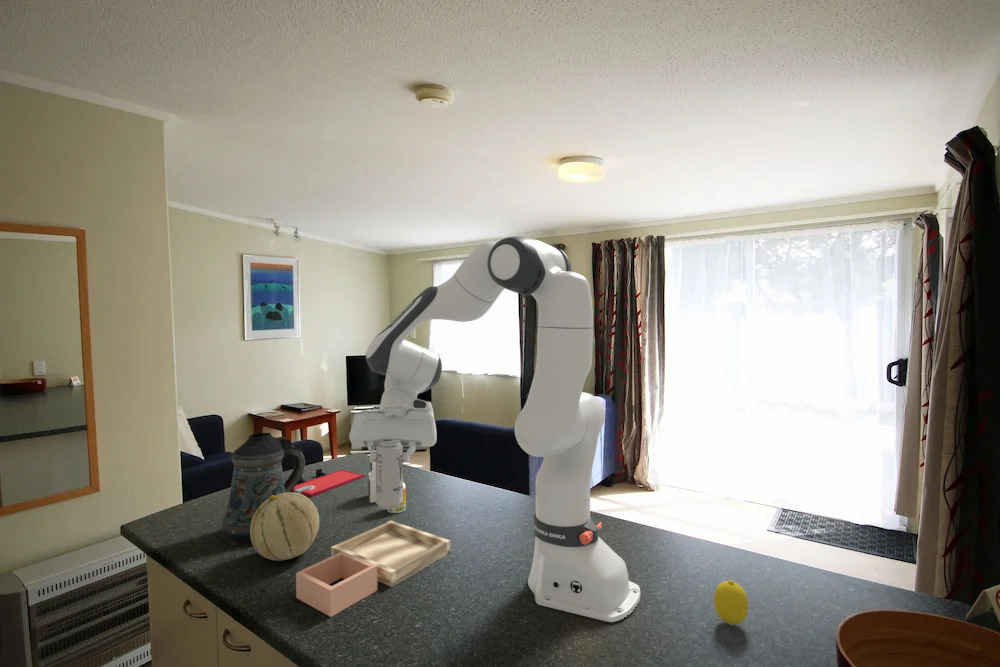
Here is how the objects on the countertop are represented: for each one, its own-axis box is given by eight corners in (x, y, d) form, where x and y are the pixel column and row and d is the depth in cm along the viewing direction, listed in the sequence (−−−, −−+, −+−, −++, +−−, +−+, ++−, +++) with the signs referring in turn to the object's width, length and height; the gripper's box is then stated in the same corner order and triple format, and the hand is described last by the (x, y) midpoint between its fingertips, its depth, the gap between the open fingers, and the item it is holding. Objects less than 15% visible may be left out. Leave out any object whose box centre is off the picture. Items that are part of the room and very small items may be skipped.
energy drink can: (400, 510, 112) (400, 442, 112) (373, 510, 112) (373, 442, 112) (404, 501, 118) (405, 437, 118) (378, 501, 118) (379, 437, 118)
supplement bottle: (408, 506, 146) (407, 473, 146) (402, 513, 141) (402, 479, 141) (390, 506, 147) (389, 473, 147) (384, 513, 142) (383, 479, 141)
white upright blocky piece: (368, 495, 156) (367, 456, 155) (392, 492, 158) (391, 454, 158) (369, 503, 149) (369, 463, 149) (394, 500, 151) (393, 461, 151)
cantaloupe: (333, 552, 118) (331, 489, 118) (274, 579, 106) (273, 509, 106) (295, 537, 127) (294, 478, 126) (237, 561, 114) (235, 495, 114)
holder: (377, 590, 102) (377, 565, 102) (330, 616, 93) (330, 590, 93) (343, 574, 108) (342, 551, 108) (296, 597, 99) (295, 572, 99)
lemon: (738, 615, 93) (738, 572, 92) (754, 634, 87) (754, 588, 87) (708, 616, 92) (708, 573, 92) (722, 635, 87) (723, 589, 87)
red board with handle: (258, 497, 155) (290, 507, 148) (258, 488, 155) (290, 497, 148) (333, 471, 181) (364, 479, 174) (333, 464, 181) (364, 471, 174)
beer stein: (205, 540, 125) (203, 440, 124) (265, 511, 143) (263, 424, 142) (258, 550, 120) (256, 445, 119) (313, 518, 138) (312, 428, 137)
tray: (450, 553, 118) (450, 540, 117) (391, 587, 103) (391, 572, 103) (391, 532, 129) (391, 520, 129) (331, 560, 115) (331, 546, 114)
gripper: (352, 403, 122) (340, 454, 112) (437, 402, 122) (431, 454, 112) (358, 417, 126) (346, 468, 117) (439, 417, 126) (434, 467, 117)
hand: (389, 461), depth 115 cm, fingers closed on energy drink can, 6 cm apart
